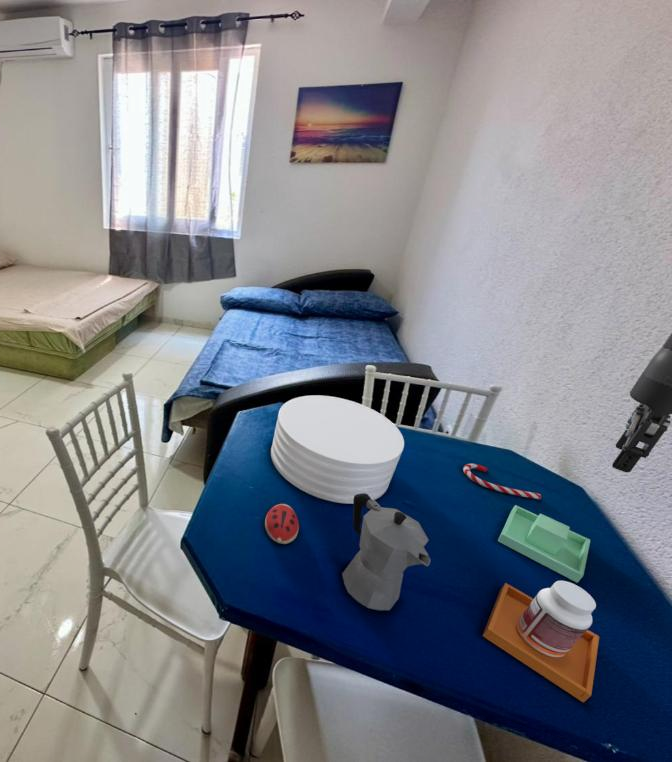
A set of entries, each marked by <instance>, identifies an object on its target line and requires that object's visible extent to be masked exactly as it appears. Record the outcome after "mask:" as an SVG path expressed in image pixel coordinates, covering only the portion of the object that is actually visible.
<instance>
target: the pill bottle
mask: <svg viewBox="0 0 672 762" xmlns="http://www.w3.org/2000/svg"><path fill="white" fill-rule="evenodd" d="M596 607H597V603H596V601H595V599H594V598H593V597H592V596H591V594H590V593H588V592H587V591H586V590H585V589H583V588H582V587H581V586H578V585H576V584H575V583H572V582H570V581H566V580H557V581H555V582H554V583H553V584H552V585H551V587H546V588H542V589H540V590H539V591H538V592H537V594H536V595H535V597H534V598H533V601H532V602H531V603H530V605H529V606H528V608H527V609H526V610H525V611H524V613H523V614H522V615H521V617H520V618H519V620H518V622H517V629H518V631H519V633H520V635H521V636H522V638H523V639H524V640H525V641H526V642H527V643H528V644H529V645H530V646H532V647H533V648H534V649H536V650H537V651H539V652H541V653H543V654H545V655H547V656H551V657H562V656H564V655H565V654H566V653H567V652H568V651H569V650H570V649H571V648H572V646H573V645H574V644H575V643H576V642H577V641H578V640H579V638H580V637H581V636H582V635H583V634H584V633H585V632H586V631H587V630H589V628H590V627H591V626H592V624H593V616H592V613H593V612H594V610H596Z"/></svg>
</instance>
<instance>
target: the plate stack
mask: <svg viewBox="0 0 672 762" xmlns="http://www.w3.org/2000/svg"><path fill="white" fill-rule="evenodd" d="M273 434H274V435H273V439H272V443H271V444H272V445H271V448H270V457H271V461H272V463H273V465H274V467H275V469H276V470H277V471H278V473H279V474H280V475H281V476H282V477H283V478H284V479H285V480H286V481H287V482H289V483H290V484H291V485H293V486H294V487H296V488H298V489H299V490H301V491H303V492H305V494H308V495H311V496H313V497H315V498H318V499H321V500H325V501H328V502H332V503H339V504H346V505H347V504H348V505H349V504H350V505H353V499H354V496H355V495H356V494H363V493H366V494H368V495H369V496H370V498H371V499H372V500H375V501H376V500H377V499H379V498H381V497H382V496H383V495H384V494H385V493H386V492H387V490H388V489H389V486H390V483H391V481H392V478H393V476H394V473H395V471H396V468H397V465H398V463H399V461H400V458H401V456H402V453H403V451H404V448H405V440H404V436H403V434H402V432H401V430H400V429H399V428H398V427H397V426H396V425H395V424H394V423H393V421H391V420H390V419H388V418H387V416H385V415H384V414H381V413H379V412H378V411H376V410H375V409H372V408H371V407H368V406H367V405H365V404H362V403H358V402H356V401H353V400H349V399H345V398H341V397H337V396H330V395H320V394H319V395H318V394H317V395H314V394H313V395H303V396H298V397H294V398H291V399H290V400H288V401H286V402H285V403H283V404H282V405H281V406H280V409H279V411H278V415H277V419H276V424H275V428H274V433H273Z"/></svg>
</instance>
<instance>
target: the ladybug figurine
mask: <svg viewBox="0 0 672 762" xmlns="http://www.w3.org/2000/svg"><path fill="white" fill-rule="evenodd" d="M264 528H265V531H266V533H267V535H268V536H269V538H270V539H271V540H272V541H274V542H276V543H277V544H283V545H287V544H290V543H292V542H293V541H294V540H295V539H296V538H297V536H298V534H299V529H300V524H299V519H298V516H297V514H296V512H295V511H294V509H293V508H292V507H291V506H290V505H288V504H286V503H279V504H276V505H274V506H273V507H271V509H269V511H268V512H267V514H266V516H265V519H264Z"/></svg>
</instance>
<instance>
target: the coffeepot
mask: <svg viewBox="0 0 672 762" xmlns="http://www.w3.org/2000/svg"><path fill="white" fill-rule="evenodd" d="M363 506H364V507H365V508H366V509H367V512H366V513H365V514H364V515H363V516H362V511H363ZM352 507H353V509H352V529H353V530H354V531H355V532H356V534H357V535H359V536H360V538H359V549H360V550H359V551H358V552H357V553H356V554H355V555H354V557H353V558H352V559H351V561H350V563H348V565H347V567H346V568H345V569H344V571H343V572H342V573H341V575H342V579H343V584H344V587H345V589H346V591H347V593H348V594H349V595H350V596H351V597H352V598H353V599H354V600H355V601H357V603H359V604H361V605H362V606H364V607H365V608H368V609H371V610H376V611H390V610H391V609H392V608H393V607H394V606H395V604H396V602H397V601H398V600H399V598H400V595H401V589H402V588H401V587H402V583H403V577H404V572H405V571H406V569H407V568H408V567H412V566H417V565H423V566H425V567H429V566H430V565H431V558H430V555H429V554H428V551H427V549H425V546H426V545H427V544H428V542H429V538H428V536H427V534H426V533H425V531H424V529H423V528H422V526H421V524H420V522H419V521H417V520H415V519H414V518H412V517H411V516H409V515H407V514H406V513H403V512H402V511H400V510H399V509H397V508H393V507H382V506H381V505H380V504H379V503H378V502H377V500H376V499H375V500H372V499H371V498H370V496H369V495H368V494H366V493H363V494H356V495H355V496H354V499H353V504H352ZM362 517H363V518H362ZM361 523H362V524H361Z"/></svg>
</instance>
